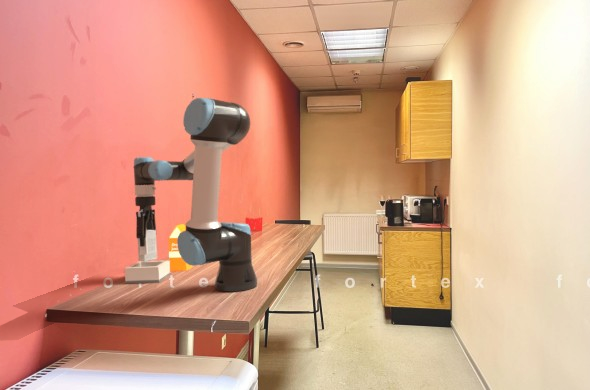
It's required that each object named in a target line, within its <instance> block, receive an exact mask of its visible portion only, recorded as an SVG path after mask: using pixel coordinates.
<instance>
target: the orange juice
mask: <svg viewBox="0 0 590 390" xmlns="http://www.w3.org/2000/svg"><path fill="white" fill-rule="evenodd" d="M185 228H186V224H184V223H181V224H177V225H175V227H174V228H173V230H172V231H171V233H170V235H169V237H168V259H169V260H168V261H170V272H185V271H186V272H187V271H188V270H190V269H192V268H194V266H191V265H188V264H187V263H185V262H184V260H183V259H182V258H181V256H180V254H179V251H178V246H177V239H178V236H179V234H180V233H181V232H183V231H185Z"/></svg>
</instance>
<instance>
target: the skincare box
mask: <svg viewBox="0 0 590 390" xmlns="http://www.w3.org/2000/svg"><path fill="white" fill-rule="evenodd" d="M156 233H157V229H156V230H147V229H146V238H147V253H148V254H147V255H140V244H139V238H137V250H138V251H137V253H138V254H137V255H138V262H140V261H142V262H146V261H156V260H158V249H157V248H158V246H157V234H156Z"/></svg>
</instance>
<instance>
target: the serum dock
mask: <svg viewBox="0 0 590 390" xmlns="http://www.w3.org/2000/svg"><path fill="white" fill-rule="evenodd" d="M124 273H125V275H124V276H125V277H124V278H125V284H153V283H161V282H162V281H163V280H165V279H166V278H167V277H169V276H170V275H171V271H170V261H169V260H151V261H146V262H142V261H136V262H134V263H133V264H130V265H129V266H126V267H125V268H124Z"/></svg>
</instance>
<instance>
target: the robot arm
mask: <svg viewBox="0 0 590 390" xmlns="http://www.w3.org/2000/svg"><path fill="white" fill-rule="evenodd" d="M182 123H183V126H184V131H185V132H186V133H187V134H189V135H190V142H191V143H192V144H193V145H194V150H193V151H192V152H191V153H189V155H187V156H186V157H185V158H184V159H183V160H181V161H176V160H175V161H172V160H169V161H168V160H163V159H160V160H159V159H158V160H157V159H156V160H154V158H153V157H149V156H142V157H141V156H140V157H135V158H134V159H133V174H134V175H133V176H134V177H133V178H134V196H135V197H134V198H135V199H134V202H135V206H136V207H139V209H138V211H136V212H135V215H136V216H135V217H136V233H135V234H136V235H135V236H136V239H138V238H139V244H140V255H147V254H148V253H147V238H146V230H156V231H157V227H156V225H157V224H156V210H155V209H153V208H152V206H153V207H154V206H156V197H155V196H154V195H155V194H156V190H157V187H155V182H156V181H158V182H160V181H192V189H191V190H192V194H191V210H190V211H191V212H190V219H189V220H188V221H187V222H186V223H185V227H186V228H185V231H183V232H181V233H180V234H179V236H178V239H177V246H178V251H179V254H180V256H181V258H182V259H183V260H184V262H185V263H187V264H188V265H191V266H193V267H194V266H199V265H200V266H204V265H206V264H211V263H215V262H218V263H219V267H218V270H217V274H216V277H215V280H214V286H215V289H216V290H217V291H220V292H221V291H222V292H240V291H247V290H250V289H254V288H256V287H257V286H258V278H257V275H256V271H255V269H254V266H253V258H252V234H251V232H252V231H251V227H250V225H249V224H248V223H241V222H240V223H239V222H220V221H219V220H218V215H219V212H218V211H219V201H220V200H219V199H220V185H221V183H220V182H221V171H222V170H221V169H222V155H223V154H222V153H224V152H225V151H227V149H229V148H230V147H231V146H236V145H238V144H239V143H240V142H241V141H243V140H244V139H245V138H246V136H247V135H248V134H249V132H250V129H251V119H250V114H249V113H248V111H247V109H245V108H244V107H243V106H242V105H241V104H239V103H236V102H230V101H224V100H219V99H215V98H209V97H207V98H206V97H196V98H195V99H193V100H191V101H190V102H189V104H188V105H187V107H186V109H185V111H184V114H183V122H182ZM156 235H157V232H156Z"/></svg>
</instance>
